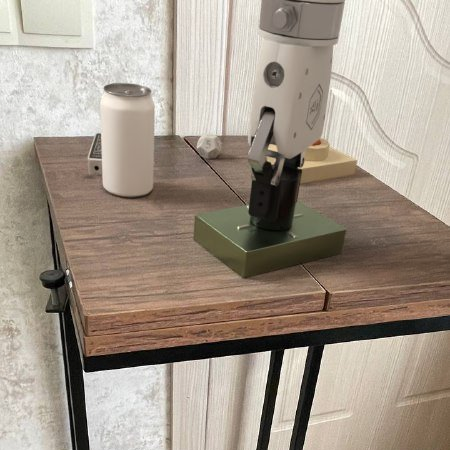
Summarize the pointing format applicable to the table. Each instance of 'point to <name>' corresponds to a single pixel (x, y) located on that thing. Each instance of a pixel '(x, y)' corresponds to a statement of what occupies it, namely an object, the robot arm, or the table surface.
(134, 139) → the can
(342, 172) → the button box
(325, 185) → the table surface
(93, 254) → the table surface
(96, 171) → the multiport hub
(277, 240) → the panel
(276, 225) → the knob
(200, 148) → the game die
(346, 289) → the table surface
